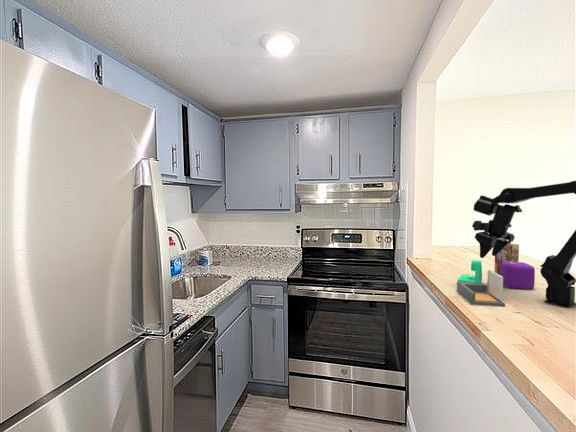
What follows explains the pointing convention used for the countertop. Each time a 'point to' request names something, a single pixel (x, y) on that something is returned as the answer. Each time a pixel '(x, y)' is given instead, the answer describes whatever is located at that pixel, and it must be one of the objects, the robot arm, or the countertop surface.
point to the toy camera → (517, 275)
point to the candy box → (506, 256)
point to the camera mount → (477, 268)
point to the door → (495, 285)
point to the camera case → (477, 294)
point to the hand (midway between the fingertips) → (487, 256)
